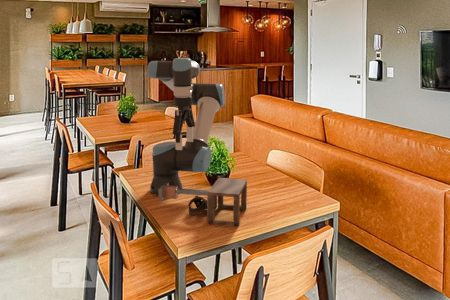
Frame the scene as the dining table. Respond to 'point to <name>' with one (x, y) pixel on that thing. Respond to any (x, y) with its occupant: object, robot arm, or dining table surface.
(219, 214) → the dining table surface
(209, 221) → the walnut stool
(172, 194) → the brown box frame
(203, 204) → the pottery mug
